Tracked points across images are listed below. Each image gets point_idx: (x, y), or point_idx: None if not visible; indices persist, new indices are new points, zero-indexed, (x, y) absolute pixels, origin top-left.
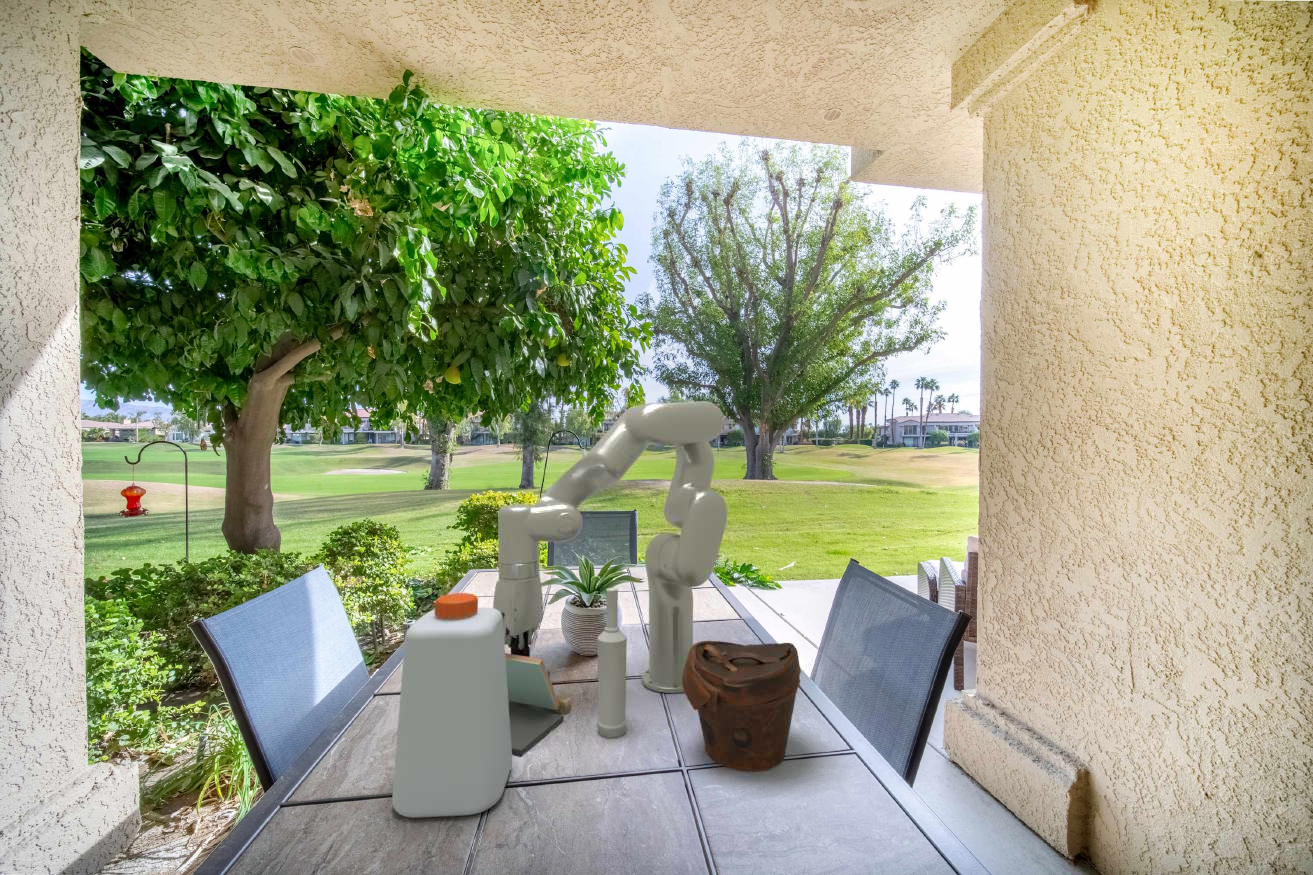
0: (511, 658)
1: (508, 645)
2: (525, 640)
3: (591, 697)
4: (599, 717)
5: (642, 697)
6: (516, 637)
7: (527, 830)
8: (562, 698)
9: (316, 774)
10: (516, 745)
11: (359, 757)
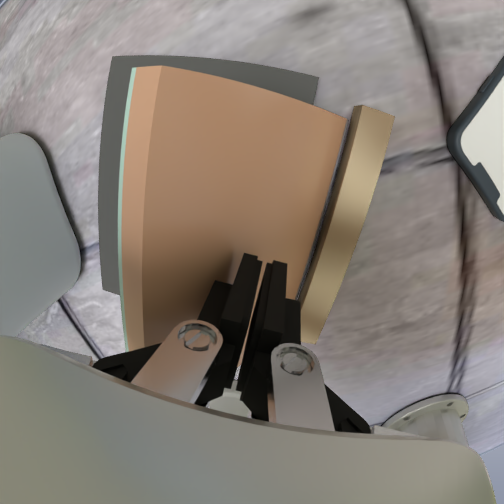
0: (129, 333)
1: (173, 330)
2: (255, 414)
3: (379, 344)
4: (221, 402)
5: (370, 409)
6: (273, 378)
7: (27, 326)
8: (312, 327)
9: (10, 3)
10: (111, 276)
11: (43, 5)
